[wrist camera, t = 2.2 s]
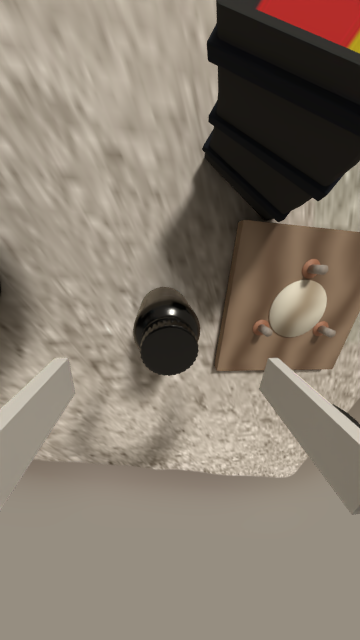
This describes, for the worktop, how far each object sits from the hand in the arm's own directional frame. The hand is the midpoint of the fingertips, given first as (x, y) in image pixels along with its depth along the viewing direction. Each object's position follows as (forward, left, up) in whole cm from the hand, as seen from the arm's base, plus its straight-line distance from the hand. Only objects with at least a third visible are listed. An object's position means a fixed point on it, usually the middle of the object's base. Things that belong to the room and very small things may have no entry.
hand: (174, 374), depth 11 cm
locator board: (+20, +1, -14) cm, 24 cm away
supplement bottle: (0, 0, -15) cm, 15 cm away
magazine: (+8, +17, -15) cm, 24 cm away
